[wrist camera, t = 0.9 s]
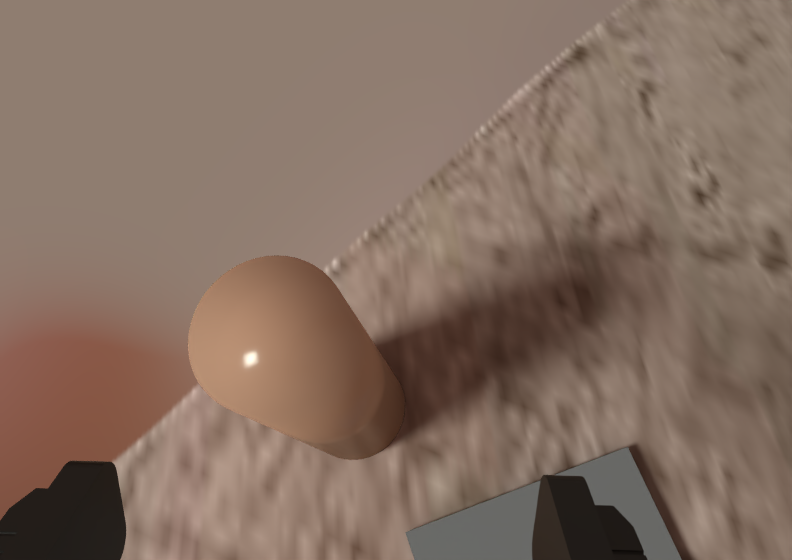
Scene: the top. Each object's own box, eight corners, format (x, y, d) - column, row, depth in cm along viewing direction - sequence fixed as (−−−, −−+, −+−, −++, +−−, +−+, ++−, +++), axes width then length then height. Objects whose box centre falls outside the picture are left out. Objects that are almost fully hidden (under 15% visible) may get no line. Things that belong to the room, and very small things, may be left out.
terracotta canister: (385, 342, 35) (320, 232, 22) (419, 437, 33) (370, 378, 20) (292, 378, 35) (172, 290, 22) (321, 475, 33) (209, 441, 20)
